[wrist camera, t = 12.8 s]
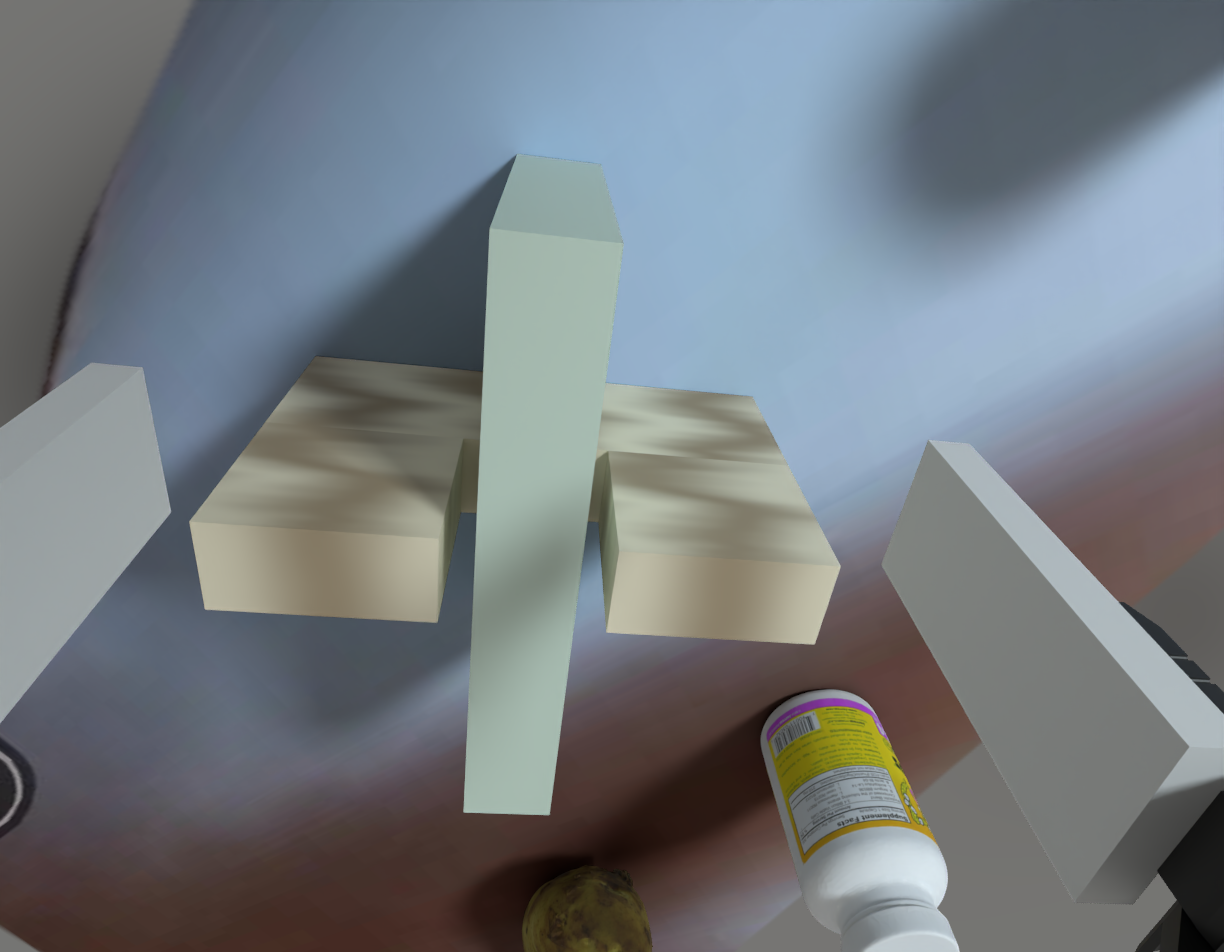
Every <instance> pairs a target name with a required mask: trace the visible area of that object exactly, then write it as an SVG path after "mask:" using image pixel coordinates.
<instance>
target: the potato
mask: <svg viewBox="0 0 1224 952" xmlns="http://www.w3.org/2000/svg"><path fill="white" fill-rule="evenodd" d="M613 871H614V872H609V871H607V870H606V869H603V868H599V867H596V866H590V865H584V866H582V867H580V868H578V869H574V870H570V871H568V872H565V873H563V874H561V875H559V876H557V877H556V878H555V879H553V880H551V881H549V882H547V883H545V884H544V885H542V886H541V887H540V888H539V889H538V890H537V891H536V892H535V894H534V895H533V897H532V898H531V900H530V902H529V904H528V906H527V908H526V910H525V913H524V918H523V925H522V941H523V948H524V952H652V947H653V946H652V938H651V932H650V927H649V922H648V918H647V914H646V911H645V908H644V905H643V902H642V901H641V899H640V897H639V896H638V894H637V893H636V891H635V890H634V888H633V887H632V885H633V884H632V882H633V881H632V879H631V877H630V875H629V873H627V871H626V870H623V871H622V870H619V869H614V870H613Z"/></svg>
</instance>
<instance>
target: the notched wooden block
mask: <svg viewBox="0 0 1224 952" xmlns="http://www.w3.org/2000/svg"><path fill="white" fill-rule="evenodd" d="M482 388H483V372H481V371H471V370H460V369H449V368H438V367H428V366H417V365H406V364H395V363H385V362H374V361H363V360H352V359H342V358H331V357H320V356H315V357H314V359H313V360H312V361H311V363H310V364H309V365H308V367H307V368H306V369H305V371H304V372H303V373H302V375H301V376H300V377H299V378H298V380H297V381H296V382H295V384H294V385H293V386H292V388H291V389H290V390H289V392H288V393H287V394H286V395H285V397H284V398H283V399H282V401H281V402H280V403H279V405H278V406H277V407H276V409H275V410H274V411H273V413H272V414H271V415H270V416H269V418H268V419H267V420H266V422H265V423H264V424H263V426H262V427H261V428H260V430H259V431H258V432H257V434H256V435H255V436H254V437H253V439H252V440H251V441H250V443H249V444H248V445H247V447H246V448H245V449H244V451H243V452H242V453H241V455H240V456H239V457H238V458H237V460H236V461H235V462H234V464H233V465H232V466H231V468H230V469H229V470H228V472H227V473H226V474H225V475H224V477H223V478H222V479H221V481H220V482H219V483H218V485H217V486H216V487H215V489H214V490H213V491H212V493H211V494H210V495H209V496H208V498H207V499H206V500H205V502H204V503H203V504H202V506H201V507H200V508H199V510H198V511H197V512H196V514H195V515H194V516H193V517H192V519H191V520H190V521H189V523H190V528H191V534H192V539H193V545H194V551H195V556H196V562H197V568H198V573H199V579H200V585H201V590H202V596H203V601H204V607H205V610H221V611H239V612H256V613H274V614H291V615H309V616H326V617H343V618H361V619H378V620H396V621H413V622H431V623H437V622H438V618H439V613H440V608H441V604H442V599H443V594H444V589H445V585H446V580H447V575H448V571H449V566H450V561H451V556H452V552H453V547H454V542H455V538H456V533H457V528H458V523H459V519H460V514H461V512H465V513H477V500H478V478H479V455H480V433H481V410H482ZM588 521H589V522H598V523H599V537H600V551H601V565H602V578H603V592H604V606H605V620H606V633H623V634H641V635H658V636H676V637H693V638H711V639H728V640H746V641H763V642H781V643H798V644H815V642H816V639H817V636H818V633H819V630H820V627H821V624H822V621H823V618H824V615H825V612H826V609H827V606H828V603H829V600H830V597H831V594H832V591H833V588H834V585H835V582H836V579H837V576H838V573H839V570H840V567H841V566H840V564H839V562H838V560H837V559H836V557H835V555H834V553H833V551H832V549H831V547H830V545H829V543H828V541H827V539H826V537H825V535H824V534H823V532H822V530H821V528H820V526H819V524H818V522H817V520H816V518H815V516H814V514H813V512H812V510H811V508H810V507H809V505H808V503H807V501H806V499H805V497H804V495H803V493H802V491H801V489H800V487H799V485H798V483H797V482H796V480H795V478H794V476H793V474H792V472H791V470H790V468H789V466H788V464H787V462H786V460H785V458H784V457H783V455H782V453H781V451H780V449H779V447H778V445H777V443H776V441H775V439H774V437H773V435H772V433H771V432H770V430H769V428H768V426H767V424H766V422H765V420H764V418H763V416H762V414H761V412H760V410H759V408H758V407H757V405H756V403H755V401H754V399H753V397H750V396H739V395H729V394H718V393H707V392H696V391H686V390H675V389H664V388H653V387H643V386H632V385H621V384H610V383H605V391H604V399H603V406H602V414H601V422H600V429H599V437H598V445H597V453H596V460H595V468H594V476H593V483H592V491H591V499H590V506H589V514H588Z"/></svg>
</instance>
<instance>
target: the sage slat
mask: <svg viewBox="0 0 1224 952" xmlns="http://www.w3.org/2000/svg"><path fill="white" fill-rule="evenodd" d="M623 245H624V243H623V240H622V236H621V233H620V229H619V226H618V222H617V219H616V215H615V212H614V208H613V205H612V201H611V198H610V195H609V191H608V188H607V184H606V181H605V177H604V174H603V170H602V167H601V164H594V163H586V162H578V161H570V160H562V159H554V158H546V157H538V156H530V155H523V154H517V156H516V159H515V161H514V164H513V167H512V170H511V172H510V175H509V178H508V180H507V183H506V186H505V188H504V191H503V194H502V196H501V199H500V202H499V204H498V207H497V210H496V212H495V215H494V218H493V221H492V223H491V226H490V230H489V253H488V275H487V298H486V320H485V343H484V365H483V388H482V410H481V433H480V455H479V478H478V500H477V523H476V545H475V568H474V591H473V613H472V636H471V658H470V681H469V703H468V726H467V748H466V771H465V793H464V812H466V813H498V814H530V815H550V807H551V799H552V792H553V784H554V776H555V768H556V761H557V753H558V745H559V738H560V730H561V722H562V715H563V707H564V699H565V691H566V684H567V676H568V668H569V661H570V653H571V645H572V637H573V630H574V622H575V614H576V607H577V599H578V591H579V584H580V576H581V568H582V560H583V553H584V545H585V537H586V530H587V522H588V514H589V506H590V499H591V491H592V483H593V476H594V468H595V460H596V453H597V445H598V437H599V429H600V422H601V414H602V406H603V399H604V391H605V383H606V376H607V368H608V360H609V352H610V345H611V337H612V329H613V322H614V314H615V306H616V298H617V291H618V283H619V275H620V268H621V260H622V252H623Z"/></svg>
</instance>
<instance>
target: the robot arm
mask: <svg viewBox="0 0 1224 952" xmlns="http://www.w3.org/2000/svg"><path fill="white" fill-rule="evenodd" d="M170 513H171V508H170V503H169V498H168V493H167V488H166V483H165V478H164V473H163V468H162V463H161V458H160V453H159V448H158V443H157V438H156V433H155V428H154V422H153V417H152V412H151V407H150V402H149V397H148V392H147V387H146V382H145V377H144V372H143V367H132V366H121V365H110V364H100V363H90V364H89V365H87V366H86V367H85V368H83V369H82V370H80V371H79V372H78V373H76V374H75V375H73V376H72V377H71V378H69V379H68V380H66V381H65V382H64V383H62V384H61V385H59V386H58V387H57V388H55V389H54V390H53V391H51V392H50V393H48V394H47V395H46V396H44V397H43V398H41V399H40V400H39V401H37V402H36V403H34V404H33V405H32V406H30V407H29V408H27V409H26V410H25V411H23V412H22V413H21V414H19V415H18V416H16V417H15V418H13V419H12V420H11V421H9V422H8V423H7V424H5V425H4V426H2V427H1V428H0V723H1V722H2V720H3V719H4V718H5V717H6V716H7V714H8V713H9V712H10V711H11V709H12V708H13V707H14V706H15V704H16V703H17V702H18V701H19V699H20V698H21V697H22V696H23V695H24V693H25V692H26V691H27V690H28V688H29V687H30V686H31V685H32V683H33V682H34V681H35V680H36V679H37V677H38V676H39V675H40V674H41V672H42V671H43V670H44V669H45V667H46V666H47V665H48V664H49V662H50V661H51V660H52V659H53V658H54V656H55V655H56V654H57V653H58V651H59V650H60V649H61V648H62V646H63V645H64V644H65V643H66V642H67V640H68V639H69V638H70V637H71V635H72V634H73V633H74V632H75V630H76V629H77V628H78V627H79V625H80V624H81V623H82V622H83V621H84V619H85V618H86V617H87V616H88V614H89V613H90V612H91V611H92V609H93V608H94V607H95V606H96V604H97V603H98V602H99V601H100V600H101V598H102V597H103V596H104V595H105V593H106V592H107V591H108V590H109V588H110V587H111V586H112V585H113V584H114V582H115V581H116V580H117V579H118V577H119V576H120V575H121V574H122V572H123V571H124V570H125V569H126V567H127V566H128V565H129V564H130V563H131V561H132V560H133V559H134V558H135V556H136V555H137V554H138V553H139V551H140V550H141V549H142V548H143V547H144V545H145V544H146V543H147V542H148V540H149V539H150V538H151V537H152V535H153V534H154V533H155V532H156V530H157V529H158V528H159V527H160V526H161V524H162V523H163V522H164V521H165V519H166V518H167V517H168V516H169V514H170ZM882 567H883V569H884V570H885V572H886V574H887V576H888V577H889V579H890V581H891V583H892V584H893V586H894V588H895V590H896V591H897V593H898V595H899V597H900V598H901V600H902V602H903V604H904V605H905V607H906V609H907V611H908V612H909V614H910V616H911V618H912V619H913V621H914V623H915V625H916V626H917V628H918V630H919V632H920V634H921V635H922V637H923V639H924V641H925V642H926V644H927V646H928V648H929V649H930V651H931V653H932V655H933V656H934V658H935V660H936V662H937V663H938V665H939V667H940V669H941V670H942V672H943V674H944V676H945V677H946V679H947V681H948V683H949V684H950V686H951V688H952V690H953V691H954V693H955V695H956V697H957V698H958V700H959V702H960V704H961V705H962V707H963V709H964V711H965V712H966V714H967V716H968V718H969V719H970V721H971V723H972V725H973V726H974V728H975V730H976V732H977V733H978V735H979V737H980V739H981V740H982V742H983V744H984V746H985V747H986V749H987V751H988V753H989V755H990V756H991V758H992V760H993V761H994V763H995V765H996V767H997V769H998V770H999V772H1000V774H1001V776H1002V777H1003V779H1004V781H1005V783H1006V784H1007V786H1008V788H1009V790H1010V791H1011V793H1012V795H1013V797H1014V798H1015V800H1016V802H1017V804H1018V805H1019V807H1020V809H1021V810H1022V812H1023V814H1024V816H1025V818H1026V819H1027V821H1028V823H1029V825H1030V826H1031V828H1032V830H1033V832H1034V833H1035V835H1036V837H1037V839H1038V840H1039V842H1040V844H1041V846H1042V847H1043V849H1044V851H1045V853H1046V854H1047V856H1048V858H1049V860H1050V861H1051V863H1052V865H1053V867H1054V869H1055V870H1056V872H1057V874H1058V875H1059V877H1060V879H1061V881H1062V882H1063V884H1064V886H1065V888H1066V889H1067V891H1068V893H1069V895H1070V897H1071V898H1072V900H1073V902H1074V903H1097V904H1098V903H1099V904H1134V903H1135V901H1136V900H1137V899H1138V898H1139V896H1140V895H1141V894H1142V893H1143V891H1144V890H1145V888H1147V886H1148V885H1149V884H1150V883H1151V882H1152V880H1153V879H1154V878H1155V877H1156V875H1157V874H1158V873H1159V874H1160V876H1161V877H1162V879H1163V880H1164V882H1165V883H1166V885H1167V886H1168V888H1169V889H1170V890H1171V892H1172V893H1173V895H1174V896H1175V898H1176V899H1177V901H1176V902H1175V903H1174V904H1173V906H1172V907H1171V908H1170V909H1169V910H1168V911H1167V913H1166V914H1165V915H1164V916H1163V917H1162V919H1161V920H1160V921H1159V922H1158V923H1157V924H1156V925H1155V927H1154V928H1153V929H1152V930H1151V931H1150V932H1149V934H1148V935H1147V936H1146V937H1145V938H1144V940H1143V941H1142V942H1141V943H1140V944H1139V946H1138V948H1137V949H1136V951H1135V952H1153V951H1158V950H1160V952H1224V692H1223V691H1222V690H1221V689H1220V688H1219V687H1218V686H1217V685H1216V684H1210V681H1209V680H1210V678H1209V677H1208V676H1207V675H1206V674H1205V673H1204V672H1203V671H1202V670H1201V669H1200V668H1199V666H1197V664H1195V662H1194V661H1188V659H1187V656H1188V655H1187V654H1186V653H1185V652H1184V651H1183V650H1182V649H1181V648H1180V647H1179V646H1178V645H1177V644H1176V643H1175V642H1174V641H1173V640H1172V639H1171V638H1170V637H1169V636H1168V635H1167V634H1166V633H1165V631H1164V630H1163V629H1162V628H1160V627H1159V626H1158V625H1156V624H1155V623H1153V622H1152V621H1150V620H1149V619H1147V618H1146V617H1145V616H1143V615H1142V614H1140V613H1139V612H1137V611H1136V610H1134V609H1133V608H1132V607H1130V606H1129V605H1127V604H1126V603H1124V602H1118V601H1117V600H1116V599H1115V598H1114V597H1113V596H1112V595H1111V594H1110V593H1109V592H1108V591H1107V590H1106V589H1105V587H1104V586H1103V585H1102V584H1101V583H1100V582H1099V581H1098V580H1097V579H1096V578H1095V577H1094V576H1093V575H1092V574H1091V573H1090V572H1089V570H1088V569H1087V568H1086V567H1085V566H1084V565H1083V564H1082V563H1081V562H1080V561H1079V560H1078V559H1077V558H1076V557H1075V556H1074V555H1073V553H1072V552H1071V551H1070V550H1069V549H1068V548H1067V547H1066V546H1065V545H1064V544H1063V543H1062V542H1061V541H1060V540H1059V539H1058V537H1057V536H1056V535H1055V534H1054V533H1053V532H1052V531H1051V530H1050V529H1049V528H1048V527H1047V526H1046V525H1045V524H1044V523H1043V522H1042V520H1041V519H1040V518H1039V517H1038V516H1037V515H1036V514H1035V513H1034V512H1033V511H1032V510H1031V509H1030V508H1029V507H1028V506H1027V505H1026V503H1025V502H1024V501H1023V500H1022V499H1021V498H1020V497H1019V496H1018V495H1017V494H1016V493H1015V492H1014V491H1013V490H1012V489H1011V488H1010V486H1009V485H1008V484H1007V483H1006V482H1005V481H1004V480H1003V479H1002V478H1001V477H1000V476H999V475H998V474H997V473H996V472H995V471H994V469H993V468H992V467H991V466H990V465H989V464H988V463H987V462H986V461H985V460H984V459H983V458H982V457H981V456H980V455H979V453H978V452H977V451H976V450H975V449H974V448H973V447H972V446H971V445H970V444H966V443H955V442H944V441H934V440H928V442H927V445H926V448H925V450H924V453H923V456H922V458H921V461H920V464H919V466H918V469H917V472H916V474H915V477H914V480H913V482H912V485H911V488H910V490H909V493H908V495H907V498H906V501H905V503H904V506H903V509H902V511H901V514H900V517H899V519H898V522H897V525H896V527H895V530H894V533H893V535H892V538H891V541H890V543H889V546H888V549H887V551H886V554H885V557H884V559H883V562H882Z"/></svg>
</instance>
